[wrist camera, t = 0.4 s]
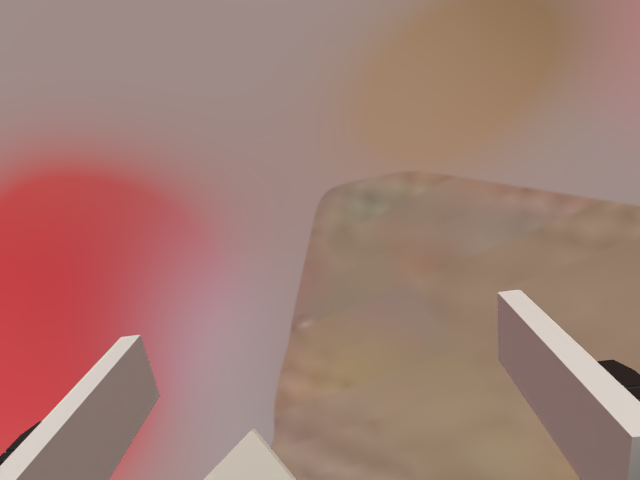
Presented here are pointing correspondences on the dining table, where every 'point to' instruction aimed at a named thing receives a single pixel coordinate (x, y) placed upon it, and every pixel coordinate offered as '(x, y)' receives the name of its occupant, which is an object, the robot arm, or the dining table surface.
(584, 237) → the dining table surface
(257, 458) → the ceramic tile
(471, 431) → the dining table surface
